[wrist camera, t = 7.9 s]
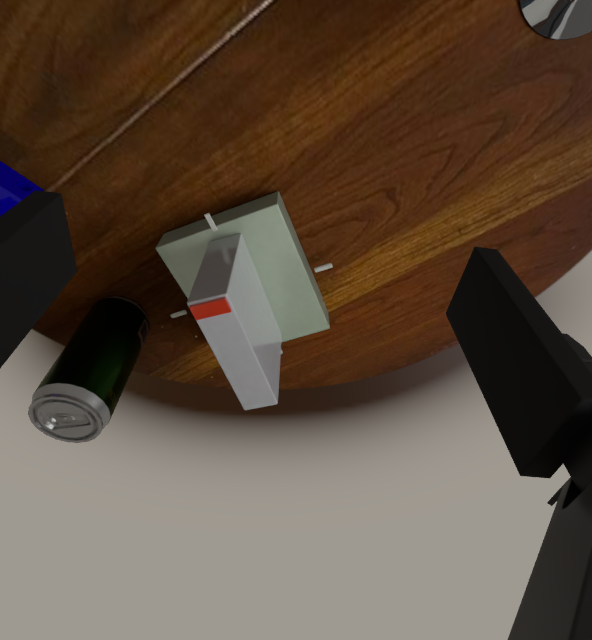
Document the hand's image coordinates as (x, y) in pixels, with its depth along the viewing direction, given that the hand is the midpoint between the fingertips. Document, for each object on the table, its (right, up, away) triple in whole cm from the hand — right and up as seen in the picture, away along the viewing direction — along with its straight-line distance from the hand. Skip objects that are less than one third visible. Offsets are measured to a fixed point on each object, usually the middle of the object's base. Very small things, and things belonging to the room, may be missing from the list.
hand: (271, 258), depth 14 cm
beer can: (-15, -2, +25) cm, 30 cm away
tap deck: (-3, +2, +22) cm, 23 cm away
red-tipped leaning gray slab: (-3, 0, +20) cm, 21 cm away
